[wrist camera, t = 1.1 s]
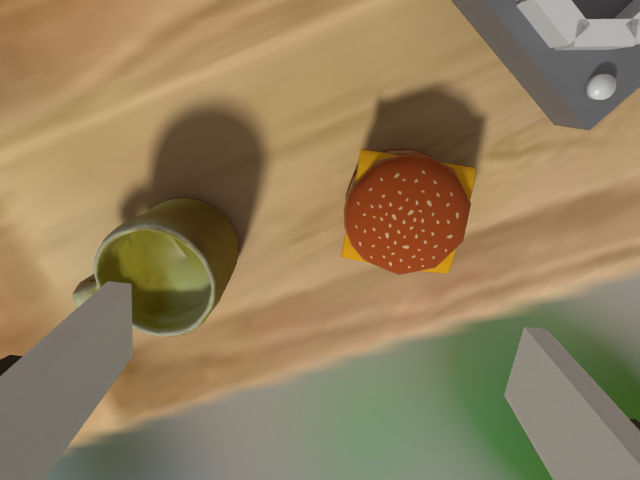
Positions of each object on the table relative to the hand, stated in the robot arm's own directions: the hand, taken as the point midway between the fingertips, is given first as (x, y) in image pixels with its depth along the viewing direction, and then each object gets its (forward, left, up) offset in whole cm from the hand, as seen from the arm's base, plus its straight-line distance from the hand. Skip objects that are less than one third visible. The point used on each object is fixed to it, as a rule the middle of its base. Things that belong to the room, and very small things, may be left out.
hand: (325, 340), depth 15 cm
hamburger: (+5, +4, -24) cm, 25 cm away
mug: (-6, -13, -24) cm, 28 cm away
